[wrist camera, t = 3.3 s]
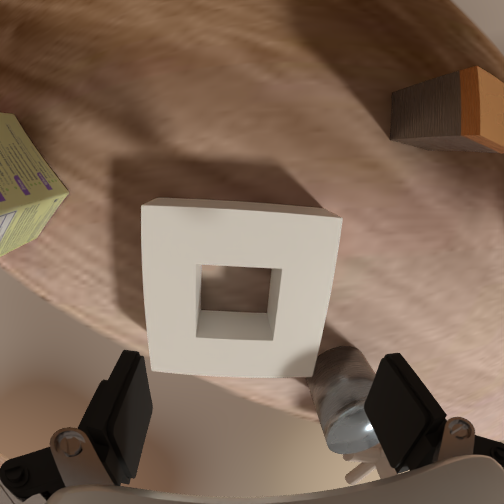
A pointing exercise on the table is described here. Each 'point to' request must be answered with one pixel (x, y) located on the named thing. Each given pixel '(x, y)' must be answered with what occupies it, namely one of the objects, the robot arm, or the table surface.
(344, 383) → the cylinder
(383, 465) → the pipe connector
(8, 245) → the box
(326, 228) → the holder block
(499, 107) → the square bit
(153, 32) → the table surface
